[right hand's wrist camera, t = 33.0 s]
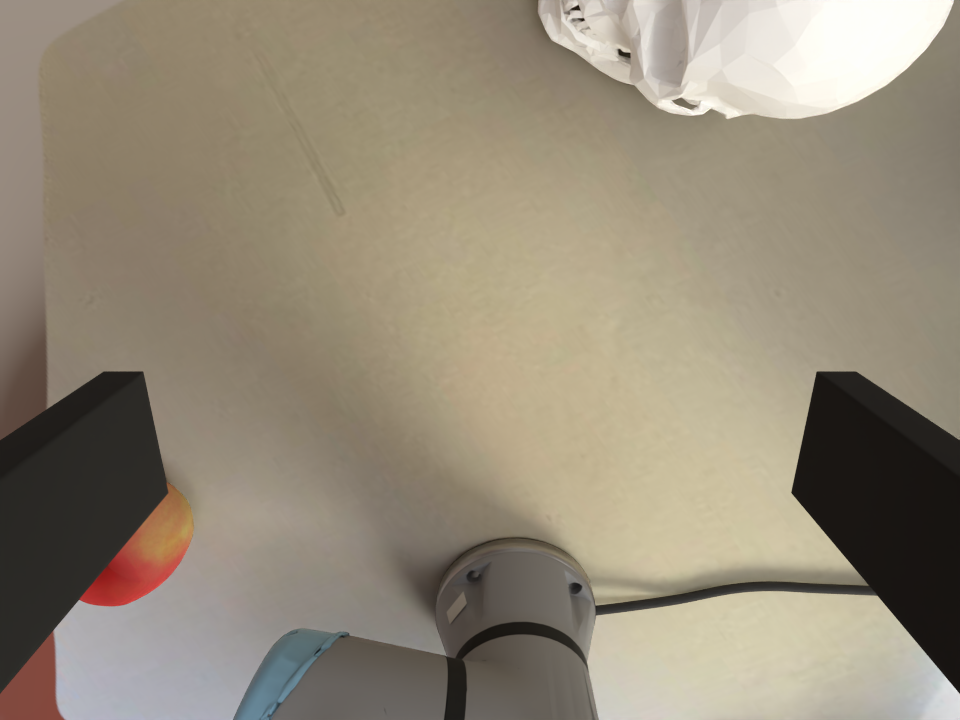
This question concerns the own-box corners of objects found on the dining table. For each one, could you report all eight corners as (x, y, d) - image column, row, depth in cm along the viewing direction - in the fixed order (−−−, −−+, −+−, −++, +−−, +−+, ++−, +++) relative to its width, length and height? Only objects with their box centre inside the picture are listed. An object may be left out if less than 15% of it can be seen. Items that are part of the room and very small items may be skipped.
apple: (203, 554, 59) (151, 635, 49) (101, 529, 58) (27, 608, 48) (219, 469, 55) (166, 540, 46) (110, 441, 54) (33, 508, 45)
